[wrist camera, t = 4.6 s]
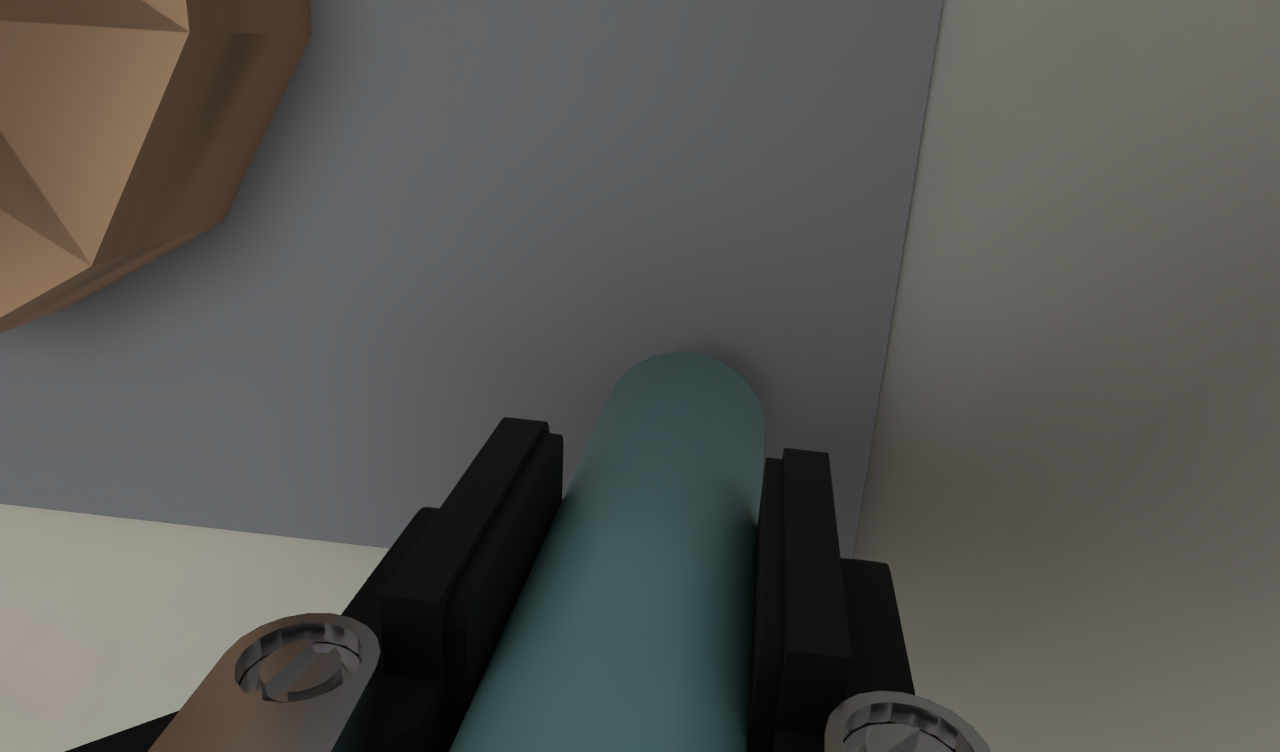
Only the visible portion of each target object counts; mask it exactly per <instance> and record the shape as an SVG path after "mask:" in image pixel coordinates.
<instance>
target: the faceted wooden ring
mask: <svg viewBox="0 0 1280 752" xmlns="http://www.w3.org/2000/svg"><path fill="white" fill-rule="evenodd" d="M311 35H312V29H311V13H310V0H0V333H3V332H5V331H8V330H11V329H13V328H16V327H18V326H21V325H23V324H26V323H29V322H31V321H34V320H36V319H39V318H42V317H44V316H47V315H49V314H52V313H54V312H57V311H60V310H62V309H65V308H67V307H70V306H72V305H73V304H75V303H77V302H79V301H81V300H82V299H84V298H86V297H88V296H90V295H91V294H93V293H95V292H97V291H99V290H100V289H102V288H104V287H106V286H108V285H109V284H111V283H113V282H115V281H117V280H119V279H120V278H122V277H124V276H126V275H128V274H129V273H131V272H133V271H135V270H137V269H138V268H140V267H142V266H144V265H146V264H147V263H149V262H151V261H153V260H155V259H156V258H158V257H160V256H162V255H164V254H165V253H167V252H169V251H171V250H173V249H174V248H176V247H178V246H180V245H182V244H183V243H185V242H187V241H189V240H191V239H192V238H194V237H196V236H198V235H200V234H202V233H203V232H205V231H207V230H209V229H211V228H212V227H214V226H216V225H218V224H220V223H221V222H223V221H224V219H225V217H226V215H227V213H228V211H229V209H230V207H231V204H232V202H233V200H234V198H235V196H236V194H237V192H238V190H239V188H240V185H241V183H242V181H243V179H244V177H245V175H246V173H247V171H248V168H249V166H250V164H251V162H252V160H253V158H254V156H255V154H256V151H257V149H258V147H259V145H260V143H261V141H262V139H263V137H264V135H265V132H266V130H267V128H268V126H269V124H270V122H271V120H272V118H273V115H274V113H275V111H276V109H277V107H278V105H279V103H280V101H281V99H282V96H283V94H284V92H285V90H286V88H287V86H288V84H289V82H290V79H291V77H292V75H293V73H294V71H295V69H296V67H297V65H298V62H299V60H300V58H301V56H302V54H303V52H304V50H305V48H306V46H307V43H308V41H309V39H310V37H311Z"/></svg>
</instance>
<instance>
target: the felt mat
mask: <svg viewBox="0 0 1280 752" xmlns="http://www.w3.org/2000/svg"><path fill="white" fill-rule="evenodd" d="M942 4H943V0H310V13H311V29H312V35H311V37H310V39H309V41H308V43H307V46H306V48H305V50H304V52H303V54H302V56H301V58H300V60H299V62H298V65H297V67H296V69H295V71H294V73H293V75H292V77H291V79H290V82H289V84H288V86H287V88H286V90H285V92H284V94H283V96H282V99H281V101H280V103H279V105H278V107H277V109H276V111H275V113H274V115H273V118H272V120H271V122H270V124H269V126H268V128H267V130H266V132H265V135H264V137H263V139H262V141H261V143H260V145H259V147H258V149H257V151H256V154H255V156H254V158H253V160H252V162H251V164H250V166H249V168H248V171H247V173H246V175H245V177H244V179H243V181H242V183H241V185H240V188H239V190H238V192H237V194H236V196H235V198H234V200H233V202H232V204H231V207H230V209H229V211H228V213H227V215H226V217H225V219H224V221H223V222H221V223H220V224H218V225H216V226H214V227H212V228H211V229H209V230H207V231H205V232H203V233H202V234H200V235H198V236H196V237H194V238H192V239H191V240H189V241H187V242H185V243H183V244H182V245H180V246H178V247H176V248H174V249H173V250H171V251H169V252H167V253H165V254H164V255H162V256H160V257H158V258H156V259H155V260H153V261H151V262H149V263H147V264H146V265H144V266H142V267H140V268H138V269H137V270H135V271H133V272H131V273H129V274H128V275H126V276H124V277H122V278H120V279H119V280H117V281H115V282H113V283H111V284H109V285H108V286H106V287H104V288H102V289H100V290H99V291H97V292H95V293H93V294H91V295H90V296H88V297H86V298H84V299H82V300H81V301H79V302H77V303H75V304H73V305H72V306H70V307H67V308H65V309H62V310H60V311H57V312H54V313H52V314H49V315H47V316H44V317H42V318H39V319H36V320H34V321H31V322H29V323H26V324H23V325H21V326H18V327H16V328H13V329H11V330H8V331H5V332H3V333H0V504H8V505H17V506H25V507H34V508H43V509H51V510H60V511H69V512H78V513H86V514H95V515H104V516H112V517H121V518H130V519H138V520H147V521H156V522H164V523H173V524H182V525H191V526H199V527H208V528H217V529H225V530H234V531H243V532H251V533H260V534H269V535H277V536H286V537H295V538H304V539H312V540H321V541H330V542H338V543H347V544H356V545H364V546H373V547H382V548H391V547H392V545H393V544H394V543H395V541H396V540H397V539H398V537H399V536H400V535H401V533H402V532H403V531H404V529H405V528H406V526H407V525H408V524H409V522H410V521H411V520H412V518H413V517H414V516H415V514H416V513H417V512H418V511H419V510H420V509H421V508H422V507H434V508H440V507H441V506H442V504H443V503H444V501H445V500H446V498H447V497H448V496H449V494H450V493H451V491H452V490H453V488H454V487H455V486H456V484H457V483H458V481H459V480H460V478H461V477H462V476H463V474H464V473H465V471H466V470H467V468H468V467H469V466H470V464H471V463H472V461H473V460H474V458H475V457H476V455H477V454H478V453H479V451H480V450H481V448H482V447H483V445H484V444H485V443H486V441H487V440H488V438H489V437H490V435H491V434H492V433H493V431H494V430H495V428H496V427H497V425H498V424H499V423H500V421H501V420H502V419H503V418H504V417H510V418H519V419H528V420H537V421H546V422H548V425H549V430H550V433H553V434H561V435H562V436H563V445H564V450H563V486H562V500H563V498H564V496H565V493H566V491H567V489H568V487H569V485H570V482H571V480H572V478H573V476H574V473H575V471H576V469H577V467H578V465H579V462H580V460H581V458H582V456H583V454H584V451H585V449H586V447H587V445H588V442H589V440H590V438H591V436H592V434H593V431H594V429H595V427H596V425H597V422H598V420H599V418H600V416H601V414H602V411H603V409H604V407H605V405H606V403H607V400H608V398H609V396H610V394H611V392H612V390H613V388H614V387H615V385H616V383H617V382H618V381H619V380H620V378H621V377H622V376H623V375H624V374H625V373H626V372H627V371H628V370H630V369H631V368H632V367H634V366H635V365H637V364H638V363H640V362H642V361H644V360H646V359H648V358H651V357H653V356H656V355H660V354H665V353H672V352H691V353H697V354H702V355H705V356H708V357H711V358H714V359H716V360H718V361H721V362H722V363H724V364H726V365H728V366H729V367H731V368H732V369H733V370H735V371H736V372H737V373H738V374H739V375H740V376H741V377H742V378H743V379H744V380H745V381H746V382H747V383H748V384H749V386H750V387H751V388H752V390H753V391H754V393H755V395H756V397H757V398H758V401H759V403H760V406H761V409H762V413H763V417H764V427H765V428H764V456H763V473H764V465H765V459H766V457H768V458H777V459H782V455H783V450H784V448H790V449H799V450H808V451H817V452H826V453H828V454H829V461H830V470H831V478H832V487H833V496H834V505H835V513H836V522H837V531H838V540H839V548H840V557H841V558H849V559H853V556H854V550H855V543H856V537H857V531H858V525H859V519H860V512H861V506H862V500H863V494H864V488H865V481H866V475H867V469H868V463H869V457H870V450H871V444H872V438H873V432H874V426H875V419H876V413H877V407H878V401H879V394H880V388H881V382H882V376H883V370H884V363H885V357H886V351H887V345H888V339H889V332H890V326H891V320H892V314H893V308H894V301H895V295H896V289H897V283H898V277H899V270H900V264H901V258H902V252H903V246H904V239H905V233H906V227H907V221H908V215H909V208H910V202H911V196H912V190H913V184H914V177H915V171H916V165H917V159H918V153H919V146H920V140H921V134H922V128H923V121H924V115H925V109H926V103H927V97H928V90H929V84H930V78H931V72H932V66H933V59H934V53H935V47H936V41H937V35H938V28H939V22H940V16H941V10H942Z"/></svg>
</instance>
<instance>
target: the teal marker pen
mask: <svg viewBox="0 0 1280 752" xmlns="http://www.w3.org/2000/svg"><path fill="white" fill-rule="evenodd" d="M764 428H765V427H764V417H763V413H762V409H761V406H760V403H759V401H758V398H757V397H756V395H755V393H754V391H753V390H752V388H751V387H750V386H749V384H748V383H747V382H746V381H745V380H744V379H743V378H742V377H741V376H740V375H739V374H738V373H737V372H736V371H735V370H733V369H732V368H731V367H729V366H728V365H726V364H724V363H722V362H721V361H718V360H716V359H714V358H711V357H708V356H705V355H702V354H697V353H691V352H672V353H665V354H660V355H656V356H653V357H651V358H648V359H646V360H644V361H642V362H640V363H638V364H637V365H635V366H634V367H632V368H631V369H630V370H628V371H627V372H626V373H625V374H624V375H623V376H622V377H621V378H620V380H619V381H618V382H617V383H616V385H615V387H614V388H613V390H612V392H611V394H610V396H609V398H608V400H607V403H606V405H605V407H604V409H603V411H602V414H601V416H600V418H599V420H598V422H597V425H596V427H595V429H594V431H593V434H592V436H591V438H590V440H589V442H588V445H587V447H586V449H585V451H584V454H583V456H582V458H581V460H580V462H579V465H578V467H577V469H576V471H575V473H574V476H573V478H572V480H571V482H570V485H569V487H568V489H567V491H566V493H565V496H564V498H563V500H562V502H561V504H560V507H559V509H558V511H557V513H556V516H555V518H554V520H553V522H552V524H551V527H550V529H549V531H548V533H547V536H546V538H545V540H544V542H543V544H542V547H541V549H540V551H539V553H538V555H537V558H536V560H535V562H534V564H533V567H532V569H531V571H530V573H529V575H528V578H527V580H526V582H525V584H524V586H523V589H522V591H521V593H520V595H519V598H518V600H517V602H516V604H515V606H514V609H513V611H512V613H511V615H510V618H509V620H508V622H507V624H506V626H505V629H504V631H503V633H502V635H501V637H500V640H499V642H498V644H497V646H496V649H495V651H494V653H493V655H492V657H491V660H490V662H489V664H488V666H487V668H486V671H485V673H484V675H483V677H482V680H481V682H480V684H479V686H478V688H477V691H476V693H475V695H474V697H473V700H472V702H471V704H470V706H469V708H468V711H467V713H466V715H465V717H464V719H463V722H462V724H461V726H460V728H459V731H458V733H457V735H456V737H455V739H454V742H453V744H452V746H451V748H450V750H449V752H747V748H748V726H749V703H750V680H751V657H752V635H753V612H754V589H755V566H756V544H757V524H758V516H759V507H760V499H761V490H762V482H763V456H764Z"/></svg>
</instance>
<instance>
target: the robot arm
mask: <svg viewBox="0 0 1280 752" xmlns="http://www.w3.org/2000/svg"><path fill="white" fill-rule="evenodd" d="M563 450H564V445H563V436H562V435H561V434H553V433H550V430H549V425H548V422H546V421H537V420H528V419H519V418H510V417H504V418H503V419H502V420H501V421H500V423H499V424H498V425H497V427H496V428H495V430H494V431H493V433H492V434H491V435H490V437H489V438H488V440H487V441H486V443H485V444H484V445H483V447H482V448H481V450H480V451H479V453H478V454H477V455H476V457H475V458H474V460H473V461H472V463H471V464H470V466H469V467H468V468H467V470H466V471H465V473H464V474H463V476H462V477H461V478H460V480H459V481H458V483H457V484H456V486H455V487H454V488H453V490H452V491H451V493H450V494H449V496H448V497H447V498H446V500H445V501H444V503H443V504H442V506H441V507H440V508H434V507H422V508H421V509H420V510H419V511H418V512H417V513H416V514H415V516H414V517H413V518H412V520H411V521H410V522H409V524H408V525H407V526H406V528H405V529H404V531H403V532H402V533H401V535H400V536H399V537H398V539H397V540H396V541H395V543H394V544H393V545H392V547H391V548H390V549H389V551H388V552H387V554H386V555H385V556H384V558H383V559H382V560H381V562H380V563H379V564H378V566H377V567H376V568H375V570H374V571H373V572H372V574H371V575H370V577H369V578H368V579H367V581H366V582H365V583H364V585H363V586H362V587H361V589H360V590H359V591H358V593H357V594H356V595H355V597H354V598H353V600H352V601H351V602H350V604H349V605H348V606H347V608H346V609H345V610H344V612H343V613H342V614H341V615H336V614H332V613H307V614H301V615H296V616H290V617H284V618H281V619H279V620H276V621H273V622H270V623H267V624H265V625H262V626H260V627H258V628H256V629H255V630H253V631H251V632H250V633H248V634H246V635H244V636H243V637H241V638H240V639H239V640H238V641H237V642H236V643H235V644H234V645H233V646H231V647H230V648H229V649H228V650H227V651H226V652H225V653H224V655H223V656H222V657H221V659H220V660H219V661H218V662H217V664H216V665H215V666H214V667H213V669H212V670H211V671H210V673H209V674H208V675H207V676H206V678H205V679H204V680H203V681H202V683H201V684H200V685H199V687H198V688H197V689H196V690H195V692H194V693H193V694H192V695H191V697H190V698H189V699H188V701H187V702H186V703H185V704H184V706H183V707H182V708H181V710H180V711H177V712H174V713H171V714H169V715H166V716H163V717H160V718H157V719H155V720H152V721H149V722H146V723H143V724H141V725H138V726H135V727H132V728H130V729H127V730H124V731H121V732H118V733H116V734H113V735H110V736H107V737H104V738H102V739H99V740H96V741H93V742H90V743H88V744H85V745H82V746H79V747H77V748H74V749H71V750H68V751H65V752H449V750H450V748H451V746H452V744H453V742H454V739H455V737H456V735H457V733H458V731H459V728H460V726H461V724H462V722H463V719H464V717H465V715H466V713H467V711H468V708H469V706H470V704H471V702H472V700H473V697H474V695H475V693H476V691H477V688H478V686H479V684H480V682H481V680H482V677H483V675H484V673H485V671H486V668H487V666H488V664H489V662H490V660H491V657H492V655H493V653H494V651H495V649H496V646H497V644H498V642H499V640H500V637H501V635H502V633H503V631H504V629H505V626H506V624H507V622H508V620H509V618H510V615H511V613H512V611H513V609H514V606H515V604H516V602H517V600H518V598H519V595H520V593H521V591H522V589H523V586H524V584H525V582H526V580H527V578H528V575H529V573H530V571H531V569H532V567H533V564H534V562H535V560H536V558H537V555H538V553H539V551H540V549H541V547H542V544H543V542H544V540H545V538H546V536H547V533H548V531H549V529H550V527H551V524H552V522H553V520H554V518H555V516H556V513H557V511H558V509H559V507H560V504H561V502H562V486H563ZM747 752H991V751H990V749H989V746H988V744H987V743H986V742H985V741H984V739H983V738H982V737H981V736H980V735H979V733H978V732H977V731H976V730H975V729H974V728H973V726H971V725H970V724H969V723H968V722H966V721H965V720H964V719H962V718H961V717H960V716H958V715H957V714H956V713H954V712H953V711H951V710H949V709H947V708H945V707H943V706H941V705H939V704H937V703H935V702H933V701H931V700H929V699H926V698H922V697H918V696H915V691H914V686H913V681H912V676H911V672H910V667H909V662H908V657H907V652H906V647H905V642H904V637H903V632H902V627H901V622H900V617H899V612H898V607H897V602H896V597H895V592H894V587H893V582H892V578H891V573H890V569H889V566H888V564H886V563H881V562H873V561H865V560H857V559H849V558H841V557H840V548H839V540H838V531H837V522H836V513H835V505H834V496H833V487H832V478H831V470H830V461H829V454H828V453H826V452H817V451H808V450H799V449H790V448H784V450H783V455H782V459H777V458H768V457H766V459H765V465H764V473H763V482H762V490H761V499H760V507H759V516H758V524H757V544H756V566H755V589H754V612H753V635H752V657H751V680H750V703H749V726H748V748H747Z"/></svg>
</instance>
